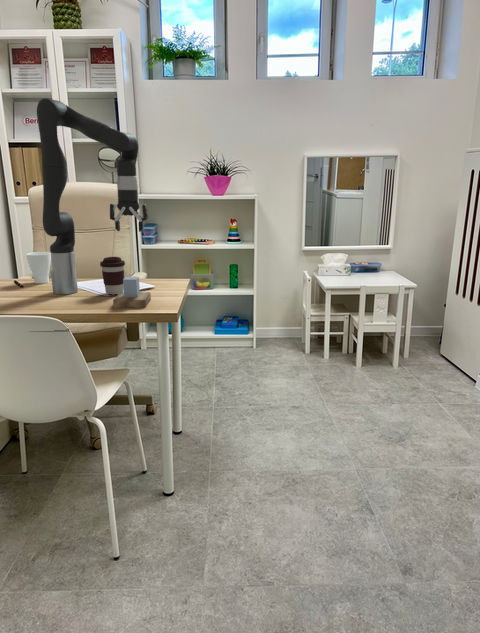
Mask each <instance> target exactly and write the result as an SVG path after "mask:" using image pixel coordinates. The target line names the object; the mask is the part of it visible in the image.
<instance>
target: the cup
mask: <svg viewBox="0 0 480 633" xmlns="http://www.w3.org/2000/svg"><path fill="white" fill-rule="evenodd" d="M25 255H26V256H25V257H26V260H27V264H28V267H29V269H30V271H31V273H32V277H33V280H34V284H38V285H39V284H40V285H41V284H48V283H49V280H50V278H49V277H50V269H51V264H52V262H51V253H50V251H34V252H28V253H26V254H25Z"/></svg>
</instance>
